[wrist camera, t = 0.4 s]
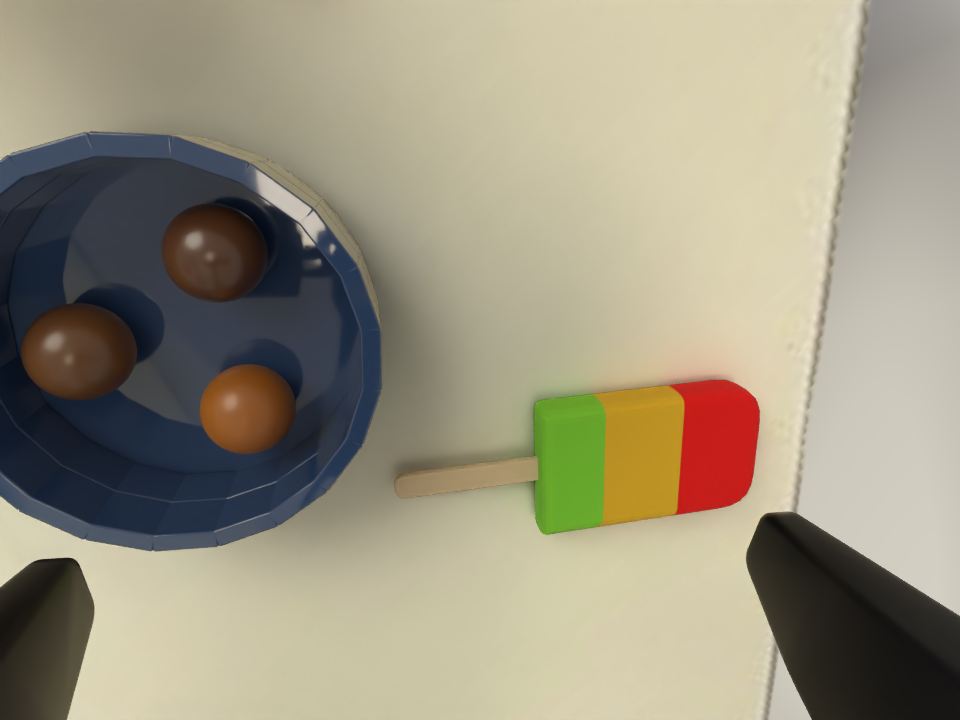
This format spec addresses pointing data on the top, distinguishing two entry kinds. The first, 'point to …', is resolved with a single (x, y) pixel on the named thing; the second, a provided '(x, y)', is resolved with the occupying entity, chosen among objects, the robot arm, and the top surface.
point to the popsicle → (623, 456)
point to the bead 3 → (247, 409)
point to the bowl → (176, 342)
